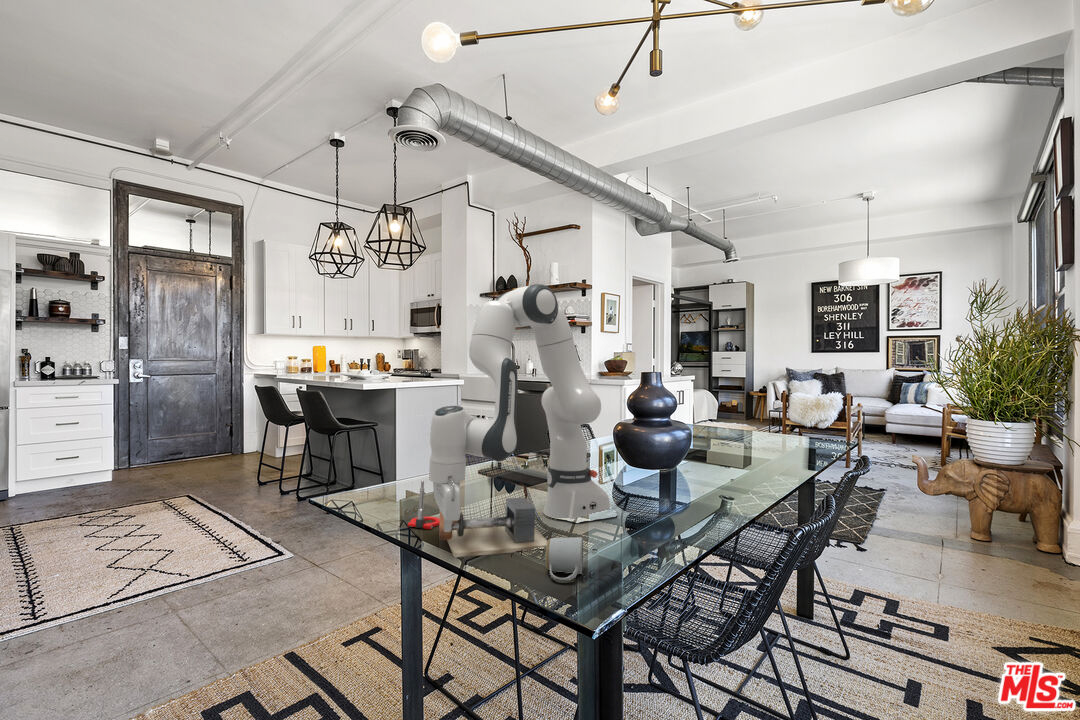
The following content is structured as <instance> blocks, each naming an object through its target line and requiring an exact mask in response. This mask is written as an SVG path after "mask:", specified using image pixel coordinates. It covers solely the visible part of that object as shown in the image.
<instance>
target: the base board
mask: <svg viewBox="0 0 1080 720" xmlns="http://www.w3.org/2000/svg"><path fill="white" fill-rule="evenodd" d="M446 541H447V544H448V545H449V548H450V550H451V553H452V555H453V558H454V559H455V558H464V557H465V558H467V557H476V556H485V555H486V556H487V555H489V556H490V555H496V554H509V553H517V552H516V551H521V550H531V549H534V548H538V547H541V546H546V545H547V541H548V540H547V538H546V537H544V536H543V534H542V533H541V532H540V531H539V530H538V529H537V528H536V527H535V531H534V542H526V543H514V542H513V540H512V539H511V538H510V536H509V535H508V534H507V532H506V531H505V526H504V527H491V528H477V529H464V534H463V536H460V537H458V535H457V530H452V539H449V540H446Z"/></svg>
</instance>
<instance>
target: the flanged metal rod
mask: <svg viewBox="0 0 1080 720" xmlns="http://www.w3.org/2000/svg"><path fill="white" fill-rule="evenodd" d="M439 519H440V523H439V525H438V526H439V530H438V531H439V533H438V539H439V540H442V541H447V540H449V539H452V530H457V535H458V537H460V536H463V534H464V530H465V529H479V528H492V527H505V526H508V527H509V528H511V527H513V526H514V521H513V520H512V519H511V518H510V517H509V516H508V517H505V516H495V517H494V516H493V517H481V518H480V517H479V518H468V519H467V518H465V519H464V514H463V512H460V519H459V520H457V521H452V529H451V532H444V529H443V523H444V518H443V515H442V513H441V511H440V510H439Z"/></svg>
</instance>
